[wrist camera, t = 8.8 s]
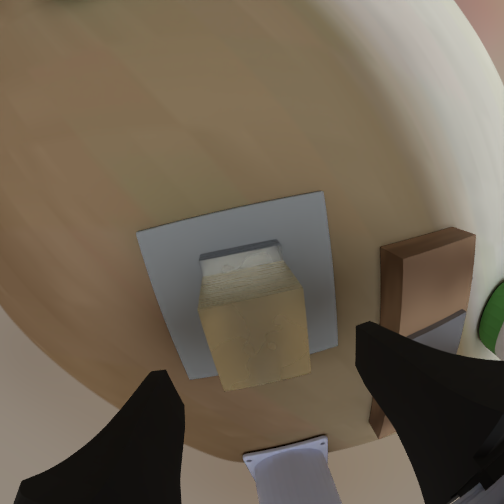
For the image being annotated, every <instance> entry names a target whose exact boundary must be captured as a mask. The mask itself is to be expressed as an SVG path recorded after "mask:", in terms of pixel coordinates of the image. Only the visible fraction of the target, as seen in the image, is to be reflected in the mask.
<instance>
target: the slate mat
mask: <svg viewBox="0 0 504 504" xmlns="http://www.w3.org/2000/svg"><path fill="white" fill-rule="evenodd" d="M136 235H137V239H138V242H139V246H140V249H141V252H142V256H143V259H144V262H145V265H146V268H147V272H148V275H149V278H150V281H151V284H152V287H153V289H154V292H155V295H156V298H157V301H158V304H159V306H160V309H161V312H162V314H163V317H164V320H165V322H166V325H167V327H168V330H169V332H170V335H171V337H172V340H173V342H174V345H175V347H176V349H177V352H178V354H179V356H180V359H181V361H182V363H183V366H184V368H185V370H186V372H187V374H188V377H189V379H190V380H192V379H199V378H205V377H211V376H217V375H218V372H217V369H216V367H215V364H214V361H213V358H212V355H211V352H210V349H209V346H208V343H207V339H206V336H205V333H204V330H203V327H202V323H201V320H200V317H199V314H198V310H197V309H198V303H199V296H200V289H201V283H202V273H201V269H200V265H199V257H200V254H204V253H209V252H213V251H218V250H223V249H228V248H233V247H238V246H243V245H248V244H253V243H258V242H263V241H268V240H273V239H277V240H278V242H279V243H280V244H281V247H282V254H283V260H284V262H285V263H286V264H287V266H288V267H289V269H290V270H291V271H292V273H293V274H294V276H295V277H296V278H297V280H298V281H299V283H300V284H301V285H302V287H303V290H304V299H305V309H306V319H307V329H308V341H309V353H310V354H312V353H316V352H319V351H322V350H326V349H329V348H332V347H335V346H338V333H337V314H336V299H335V285H334V274H333V263H332V254H331V245H330V236H329V228H328V220H327V213H326V206H325V199H324V193H323V191H316V192H311V193H305V194H300V195H295V196H289V197H284V198H279V199H274V200H269V201H264V202H259V203H255V204H250V205H245V206H241V207H236V208H231V209H227V210H222V211H218V212H214V213H209V214H205V215H201V216H196V217H192V218H188V219H184V220H180V221H176V222H172V223H168V224H164V225H160V226H156V227H152V228H149V229H145V230H141V231H138V232H136Z"/></svg>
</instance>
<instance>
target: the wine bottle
mask: <svg viewBox="0 0 504 504" xmlns="http://www.w3.org/2000/svg"><path fill="white" fill-rule="evenodd" d="M479 335H480V340H481V341H482V343H483V344H484V345H485V346H486V347H487V348H488V349H489V350H490V351H492V352H493V353H494V354H495V355H496V356H497V357H498V358H500V359H501V360H502V361H504V282H503V283H502V284H501V285H500V286H499V287H498V288H497V289H496V290H495V292H494V293H493V294H492V296H491V298H490V299H489V301H488V303H487V305H486V307H485V310H484V312H483V315H482V318H481V322H480V328H479Z"/></svg>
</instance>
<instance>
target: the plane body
mask: <svg viewBox="0 0 504 504" xmlns="http://www.w3.org/2000/svg"><path fill="white" fill-rule="evenodd" d="M475 240H476V235H475V234H472V233H469V232H466V231H463V230H460V229H457V228H454V227H450V228H447V229H443V230H440V231H436V232H433V233H429V234H426V235H422V236H419V237H415V238H412V239H408V240H404V241H401V242H397V243H393V244H390V245H386V246H382V247H380V254H381V317H380V326H383V327H385V328H387V329H389V330H391V331H394V332H396V333H398V334H400V335H402V336H405V337H407V338H409V339H412V340H414V341H417V342H419V343H422V344H424V345H427V346H430V347H433V348H435V349H438V350H441V351H445V352H448V353H452V354H456V353H457V350H458V346H459V343H460V339H461V335H462V331H463V326H464V322H465V317H466V312H467V307H468V301H469V296H470V289H471V282H472V275H473V266H474V255H475ZM369 423H370V425H371V426H372V428H373V430H374V432H375V433H376V435H377V437H378V439H381V438H383V437H385V436H387V435H389V434H392V433H394V432H396V430H395V429H394V427H393V425H392V424H391V422H390V421H389V419H388V418H387V416H386V415H385V414H384V412H383V411H382V409H381V408H380V406H379V405H378V403H377V402H376V401H375V399H374V398H373V401H372V407H371V413H370V419H369Z"/></svg>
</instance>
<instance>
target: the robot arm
mask: <svg viewBox="0 0 504 504" xmlns="http://www.w3.org/2000/svg"><path fill="white" fill-rule="evenodd" d="M355 366H356V368H357V370H358V372H359V374H360V376H361V378H362V380H363V382H364V384H365V386H366V387H367V389H368V390H369V392H370V393H371V395H372V396H373V398H374V399H375V401H376V402H377V403H378V405H379V406H380V408H381V409H382V411H383V412H384V414H385V415H386V416H387V418H388V419H389V421H390V422H391V424H392V425H393V427H394V429H395V430H396V432H397V434H398V436H399V438H400V440H401V442H402V444H403V446H404V448H405V450H406V453H407V455H408V457H409V459H410V462H411V464H412V466H413V469H414V471H415V474H416V477H417V480H418V482H419V485H420V488H421V491H422V495H423V498H424V502H425V504H450V503H451V502H453V501H454V500H456V499H457V498H458V497H460V498H459V499H458V500H456V501H455V502H454V503H452V504H504V361H497V360H485V359H477V358H470V357H465V356H461V355H456V354H452V353H448V352H445V351H441V350H438V349H435V348H433V347H430V346H427V345H424V344H422V343H419V342H417V341H414V340H412V339H409V338H407V337H405V336H402V335H400V334H398V333H396V332H394V331H391V330H389V329H387V328H385V327H383V326H380V325H378V324H376V323H374V322H371V321H369V322H366V323H363V324H360V325H357V326H356V362H355ZM184 432H185V412H184V404H183V402H182V400H181V398H180V397H179V395H178V393H177V391H176V389H175V387H174V385H173V383H172V381H171V379H170V377H169V375H168V373H167V371H166V370H159V371H151V372H150V373H149V375H148V376H147V377H146V378H145V379H144V381H143V382H142V383H141V385H140V386H139V387H138V388H137V390H136V391H135V392H134V393H133V395H132V396H131V397H130V398H129V400H128V401H127V402H126V403H125V405H124V406H123V407H122V408H121V410H120V411H119V412H118V413H117V414H116V415H115V416H114V417H113V419H112V420H111V421H110V422H109V423H108V424H107V426H105V427H104V428H103V429H102V431H100V432H99V433H98V434H97V435H96V436H95V437H94V438H93V439H92V440H91V441H90V442H88V443H87V444H86V445H85V446H84V447H82V448H81V449H80V450H78V451H77V452H75V453H74V454H73V455H71V456H70V457H69V458H67V459H66V460H64V461H63V462H61V463H59V464H58V465H56V466H54V467H52V468H50V469H49V470H47V471H45V472H42V473H40V474H38V475H35V476H33V477H30V478H28V479H25V480H23V481H22V482H21V484H20V487H19V490H18V492H17V495H16V498H15V501H14V504H181V489H180V473H181V462H182V452H183V442H184ZM243 460H244V462H245V464H246V466H247V468H248V469H249V471H250V473H251V475H252V476H253V478H254V480H255V482H256V487H257V493H258V499H259V504H342V502H341V500H340V497H339V494H338V492H337V489H336V486H335V484H334V481H333V478H332V476H331V473H330V470H329V468H328V465H327V463H328V462H327V461H328V439H327V436H320V437H316V438H313V439H309V440H306V441H302V442H299V443H295V444H291V445H287V446H282V447H278V448H273V449H269V450H264V451H258V452H253V453H247V454H244V455H243Z"/></svg>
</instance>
